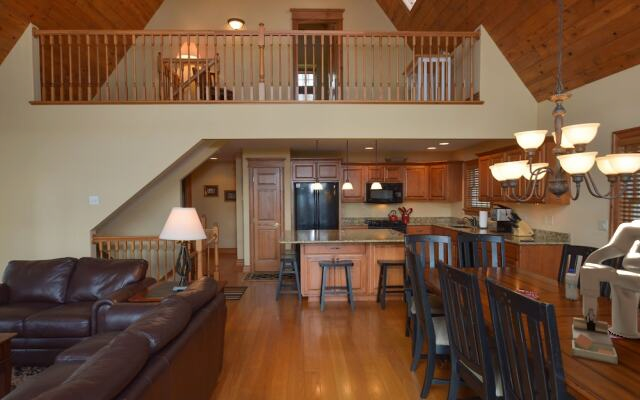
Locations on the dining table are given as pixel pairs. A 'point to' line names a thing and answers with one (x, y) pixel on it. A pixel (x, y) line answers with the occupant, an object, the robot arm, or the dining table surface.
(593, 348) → the box
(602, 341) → the bench board
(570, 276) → the bottle
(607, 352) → the tile
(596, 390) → the dining table surface
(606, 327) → the tan long block
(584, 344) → the tile
